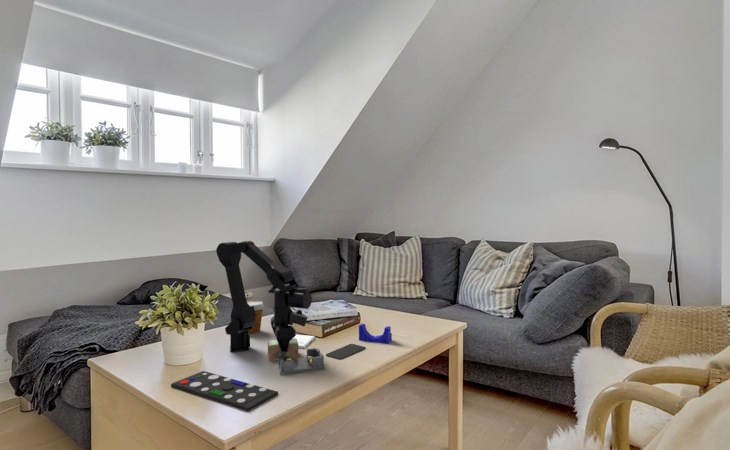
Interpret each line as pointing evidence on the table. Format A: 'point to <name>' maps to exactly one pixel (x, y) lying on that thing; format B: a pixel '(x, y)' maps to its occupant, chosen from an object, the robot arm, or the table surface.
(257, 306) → the disposable coffee cup
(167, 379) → the table surface
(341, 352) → the phone
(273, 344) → the brown and green block
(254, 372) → the table surface
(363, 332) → the blue u-shaped cradle
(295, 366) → the chassis
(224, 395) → the remote control
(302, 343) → the external hard drive
